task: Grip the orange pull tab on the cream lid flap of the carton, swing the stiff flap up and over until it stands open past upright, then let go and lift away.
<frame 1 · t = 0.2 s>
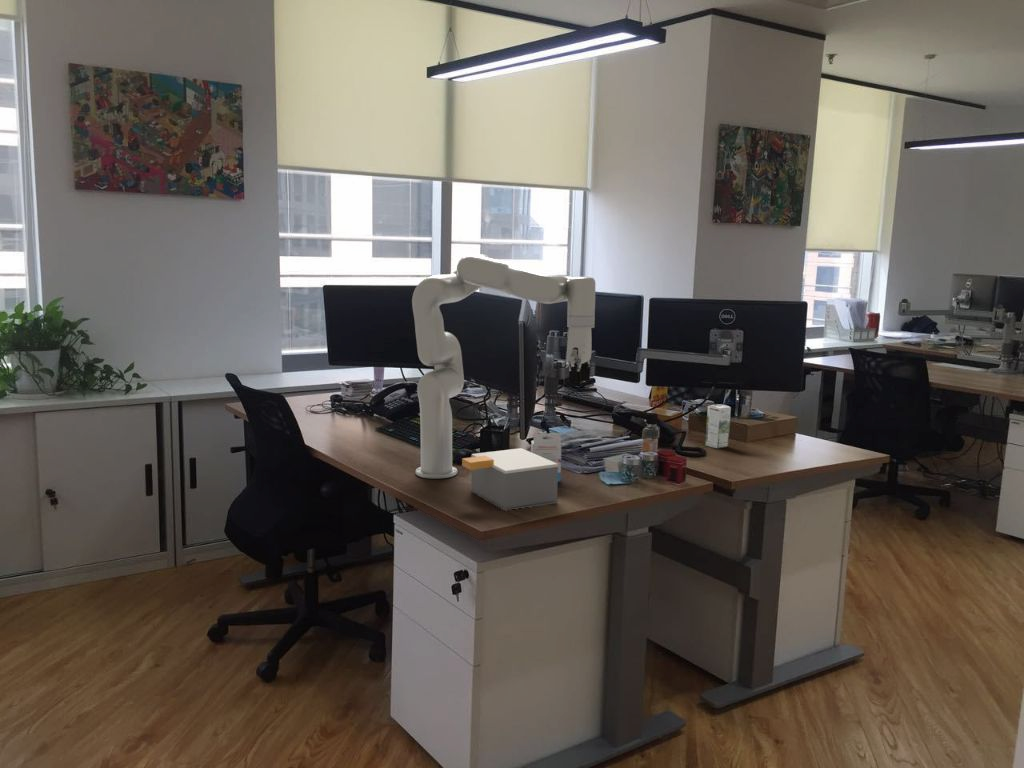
hand: (579, 383, 238), 31 cm above the table, tool pointing down, fingers open, 9 cm apart
syrup box: (716, 447, 298), on the table
lid flap: (503, 459, 232), point 11 cm above the table, hinge at 0.0°
carton: (513, 497, 236), on the table
ink box: (545, 480, 253), on the table
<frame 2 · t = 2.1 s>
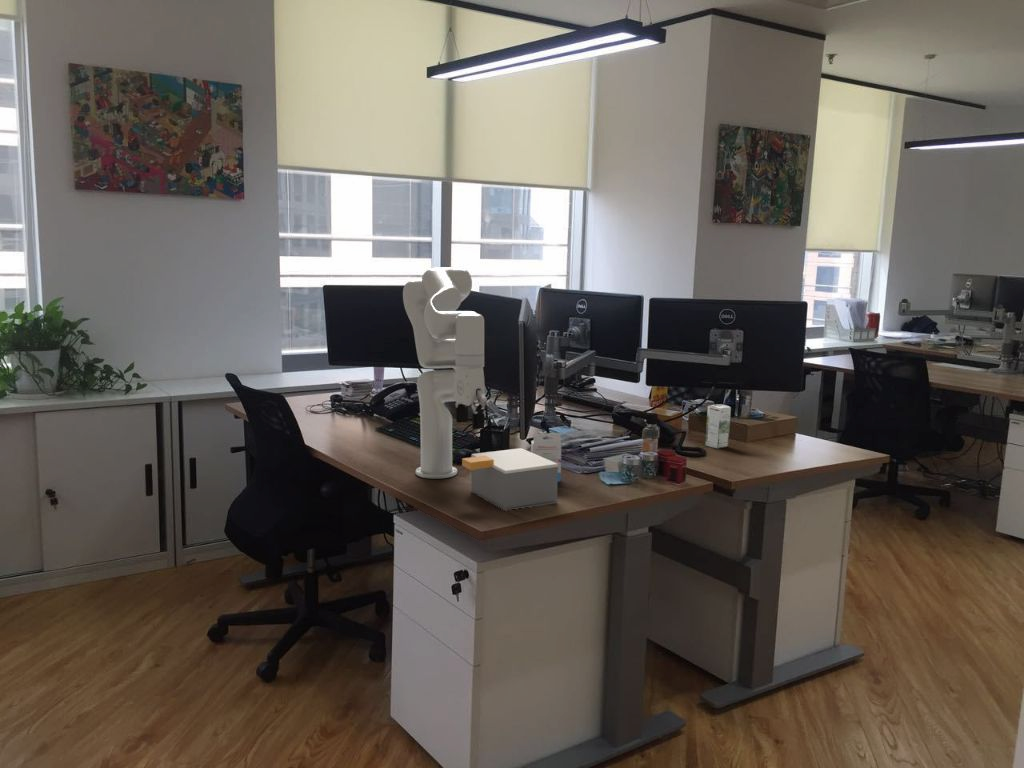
hand: (470, 425, 226), 22 cm above the table, tool pointing down, fingers open, 9 cm apart
nothing on the table moved.
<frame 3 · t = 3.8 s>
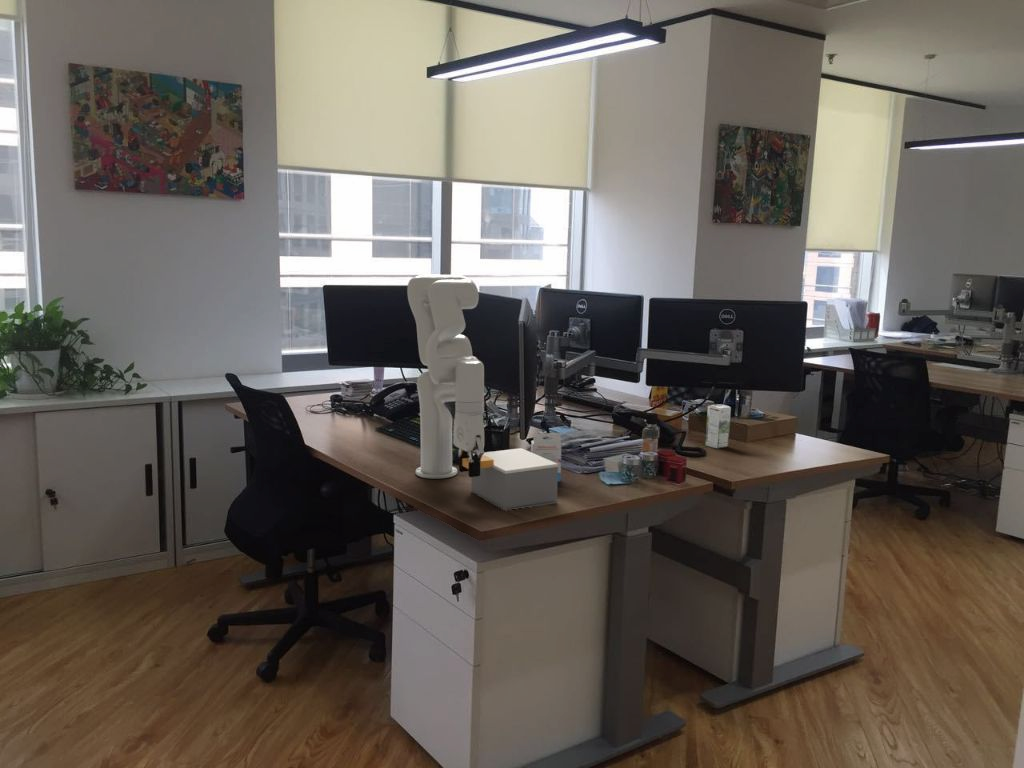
hand: (469, 473, 228), 9 cm above the table, tool pointing down, fingers closed on lid flap, 5 cm apart
lid flap: (503, 459, 232), point 11 cm above the table, hinge at 0.0°, touching gripper
everything else where it was.
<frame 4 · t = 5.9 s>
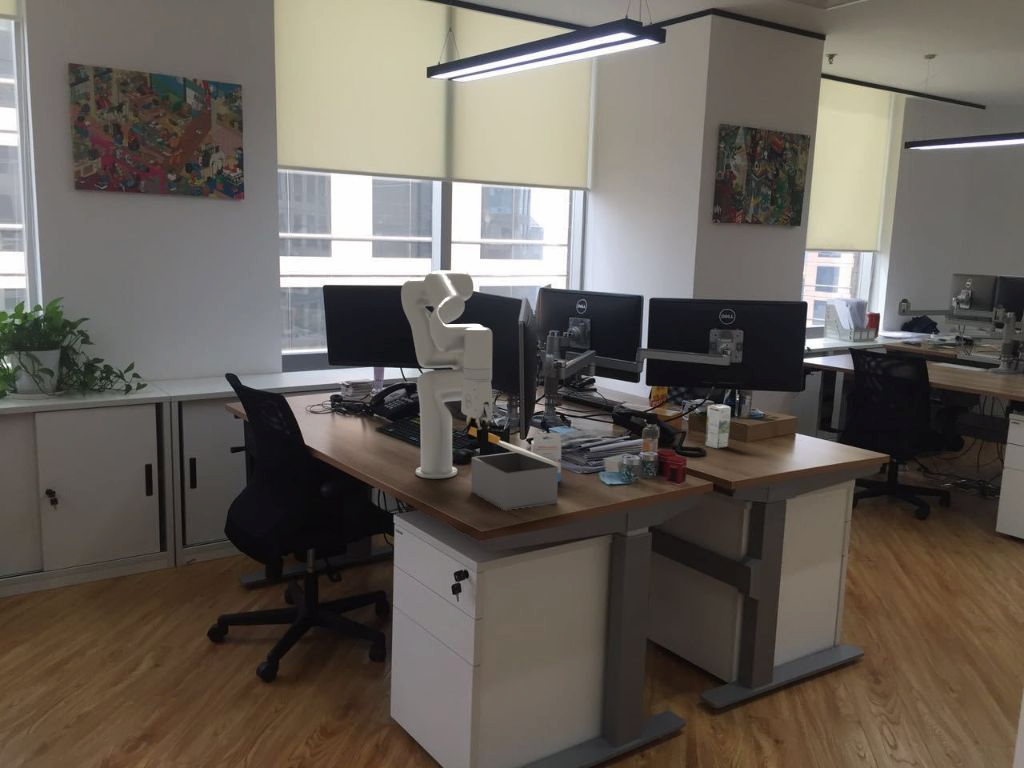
hand: (477, 440, 228), 17 cm above the table, tool pointing down, fingers closed on lid flap, 5 cm apart
lid flap: (507, 443, 232), point 15 cm above the table, hinge at 22.9°, touching gripper
everything else where it was.
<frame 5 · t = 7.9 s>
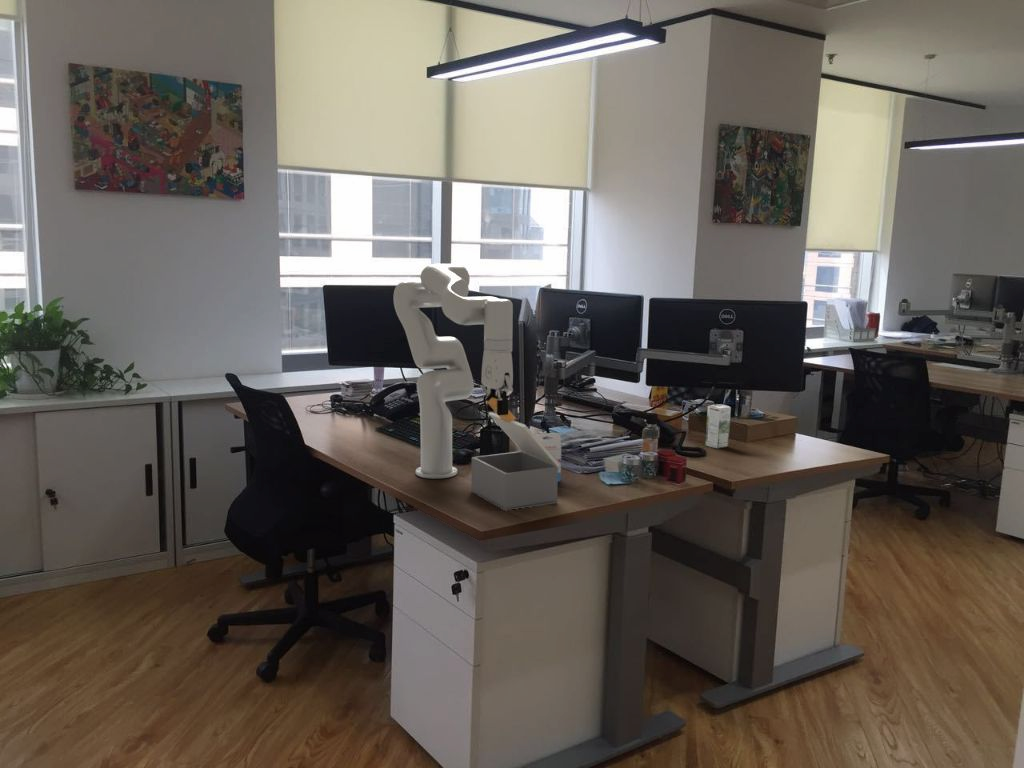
hand: (497, 412, 229), 24 cm above the table, tool pointing down, fingers closed on lid flap, 5 cm apart
lid flap: (517, 429, 233), point 19 cm above the table, hinge at 47.9°, touching gripper
everything else where it was.
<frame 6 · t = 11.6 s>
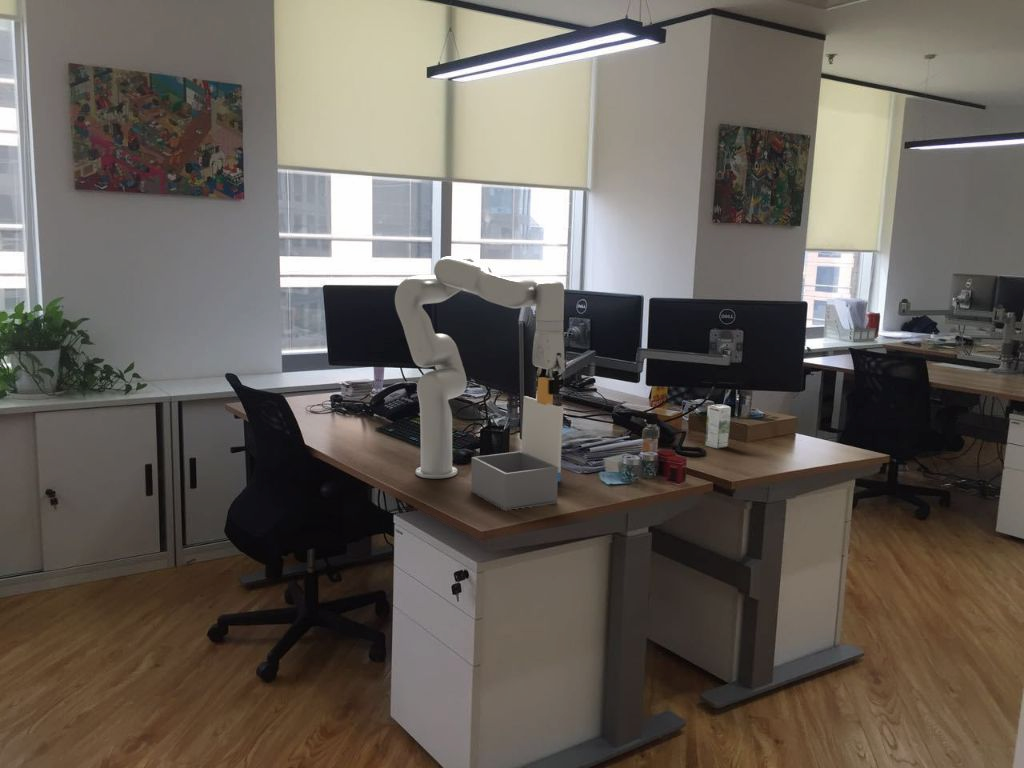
hand: (548, 391, 236), 29 cm above the table, tool pointing down, fingers open, 5 cm apart
lid flap: (543, 418, 237), point 21 cm above the table, hinge at 92.2°
everything else where it was.
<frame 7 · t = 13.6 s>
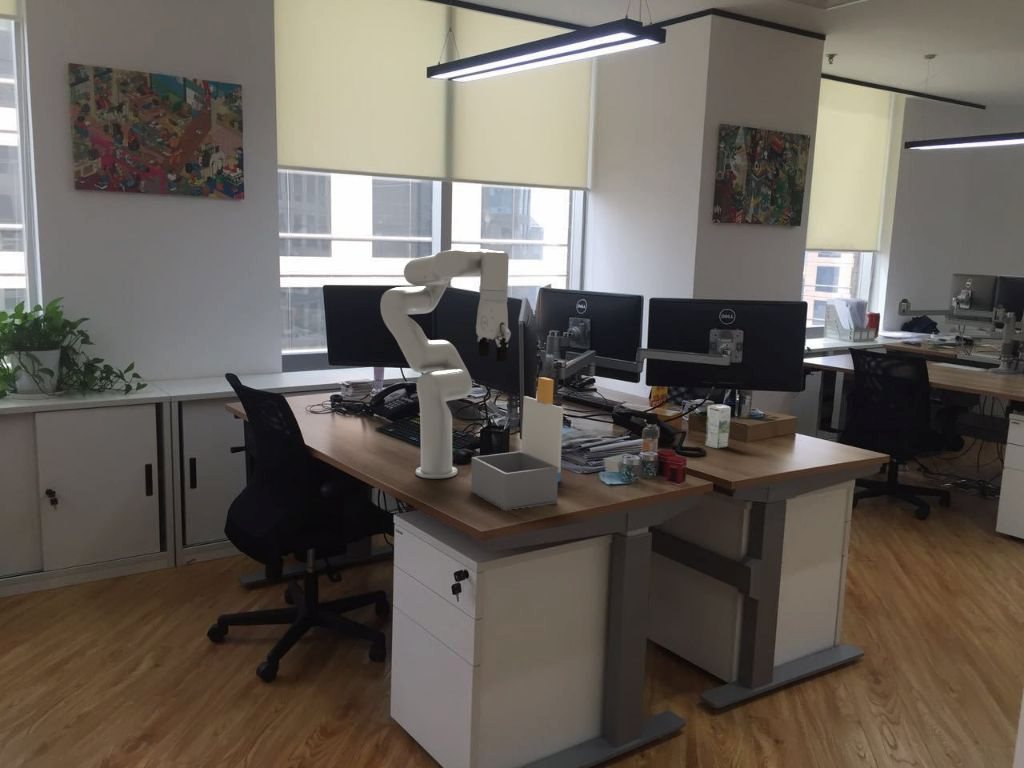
hand: (492, 358, 236), 38 cm above the table, tool pointing down, fingers open, 9 cm apart
nothing on the table moved.
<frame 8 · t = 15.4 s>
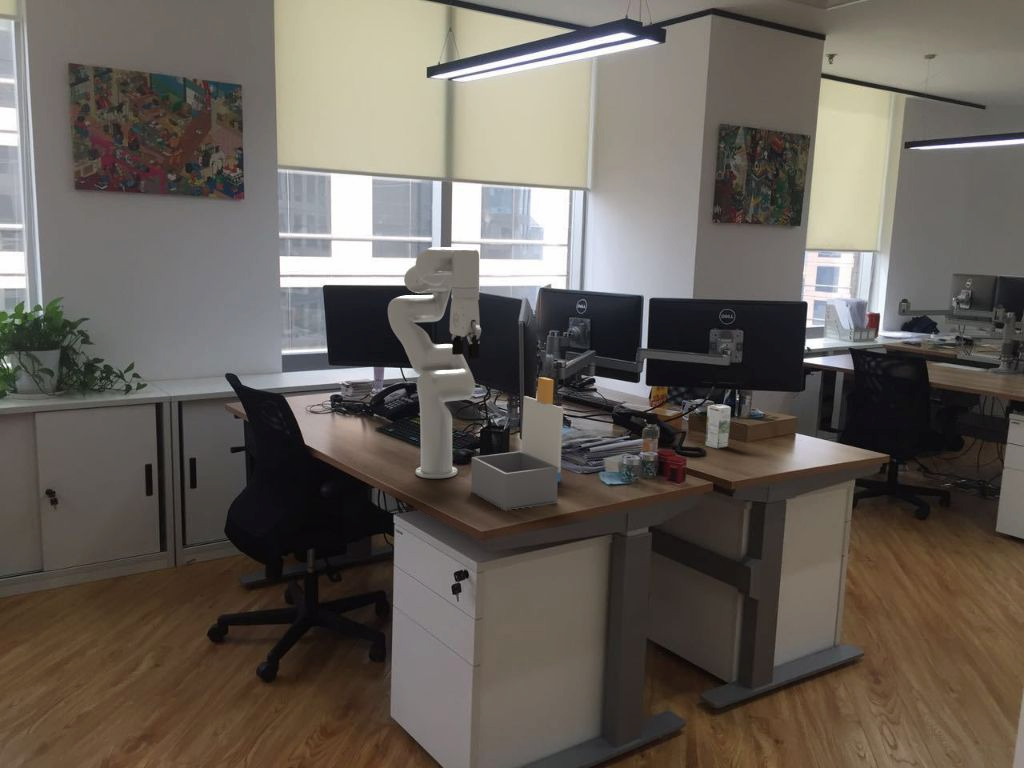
hand: (465, 356, 236), 38 cm above the table, tool pointing down, fingers open, 9 cm apart
nothing on the table moved.
at the end: lid flap at +92° (first picture: +0°); ink box moved 0.2 cm from its start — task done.
